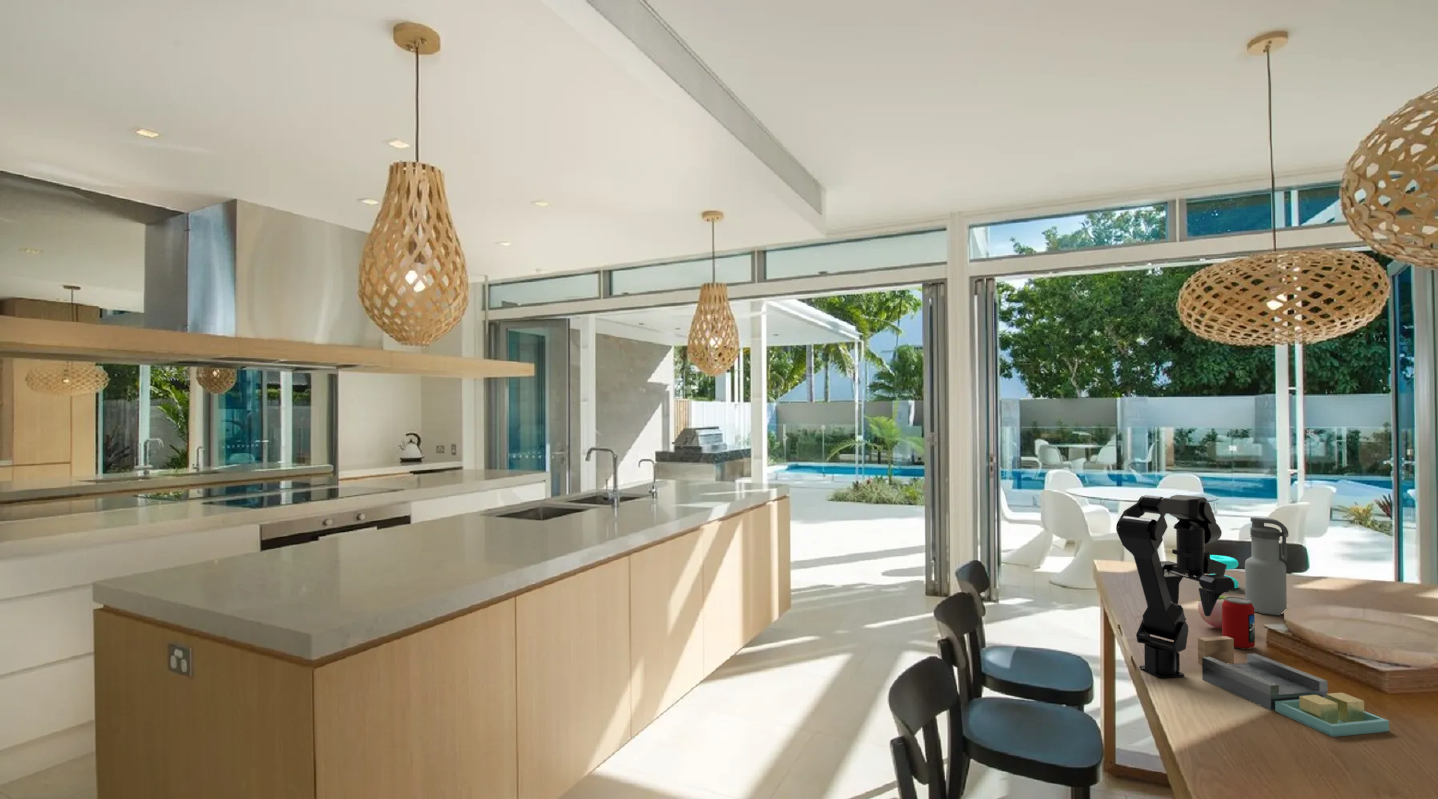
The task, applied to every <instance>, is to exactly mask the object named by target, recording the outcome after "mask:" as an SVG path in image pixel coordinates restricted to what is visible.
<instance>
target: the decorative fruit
mask: <svg viewBox="0 0 1438 799" xmlns="http://www.w3.org/2000/svg"><path fill="white" fill-rule="evenodd" d="M1225 597H1228V596H1226V595H1220V596H1219V598H1218V600H1217V602H1216V604H1215V606H1214V608H1213V610H1212V613H1211V615H1210V616H1205V614H1204V611H1203V607H1202V602H1201V598H1199V599H1198V604H1197V609H1198V612H1199V613H1198V614H1199V616H1200V617H1201V619H1202V620H1203V621H1204V622H1205V623H1206V624H1208V625H1210V626H1211V627H1214V628H1215V629H1218V630H1219V629H1222V603H1223V601H1224V600H1225Z"/></svg>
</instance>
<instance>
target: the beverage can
mask: <svg viewBox="0 0 1438 799" xmlns="http://www.w3.org/2000/svg"><path fill="white" fill-rule="evenodd" d="M1255 614H1256V612H1254V607H1253V605H1252V603H1251V601H1250V600H1248V599H1245V597H1244V598H1243V597H1237V596H1227V597H1225V600H1224V601H1223V603H1222V628H1221V635H1222V636H1227V637H1230V638H1233V639H1234V649H1238V648H1244V649H1243V650H1250V649H1251V648H1254V647H1255V644H1256V637H1255V636H1256V632H1255V631H1256V628H1255V626H1256V618H1255V616H1256V615H1255ZM1249 648H1250V649H1249Z"/></svg>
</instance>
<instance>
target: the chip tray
mask: <svg viewBox="0 0 1438 799" xmlns="http://www.w3.org/2000/svg"><path fill="white" fill-rule="evenodd" d="M1323 698H1326V697H1323ZM1274 712H1277V713H1279V714H1280V715H1283V716H1286V717H1288V718H1289V719H1292V720H1295V721H1296V722H1299V723H1301V724H1303V725H1305V726H1307V727H1309V728H1312V729H1314V730H1316V731H1318V732H1319V733H1320V732H1321V733H1323V734H1325V735H1328V736H1329V737H1332V738H1334V737H1336V738H1337V737H1343V736H1344V737H1345V736H1346V737H1347V736H1355V735H1356V736H1357V735H1363V734H1364V735H1366V734H1375V733H1386V732H1390V720H1388V719H1385V718H1383V717H1380V716H1378V715H1376V714H1373V713H1370V712H1368V711H1365V710H1364V721H1357V722H1347V723H1346V722H1344V721H1341V720H1339V719H1338V723H1336V724H1330V723H1328V722H1326V721H1323V720H1321V719H1319V718H1317V717H1314V716H1312V715H1310V714H1307V713H1305V712H1303V711H1300V708H1299V699H1295V700H1284V701H1275V710H1274Z"/></svg>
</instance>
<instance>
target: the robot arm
mask: <svg viewBox="0 0 1438 799" xmlns="http://www.w3.org/2000/svg"><path fill="white" fill-rule="evenodd" d="M1145 513H1146V514H1153V515H1154V514H1156V515H1159V517H1158V518H1157V520H1156V519H1153V518H1145V517H1142V516H1144V514H1145ZM1166 514H1168V515H1170V516H1171V517H1174V518H1176V519H1177V521H1178V522H1176V523H1175V524H1173V529H1174V530H1175V532H1176V536H1175V537H1176V538H1175V539H1176V544H1175V545H1176V549H1175V548H1172V551H1171V552H1172V554H1174V555H1176V562H1175V561H1170V560H1165V561H1164V560H1163V561H1161V560H1160V558H1161V557H1160V555H1159V551H1158V549H1160V546H1161V545H1162V543H1163V540H1164V538H1163V537H1164V535H1165V533H1166V531H1167V529H1168V523H1167V521H1166V518H1165V516H1166ZM1115 529H1116V534H1117V536H1118V538H1119V541H1120V542H1121V545H1122V546H1123V547H1124V548H1125V549H1126V550H1127V551H1128V552H1129V553H1130V554H1131V555H1132V556H1133V559H1134V563H1135V566H1136V570H1137V573H1138V576H1139V580H1140V585H1141V587H1142V592H1143V594H1144V599H1145V602H1146V606H1147V607H1146V609H1145V610H1144V612H1143V614H1142V620H1141V622H1140V625H1139V628H1138V629H1137V632H1136V635H1135V637H1136V642H1137V643H1138V644H1143V646H1144V648H1143V649H1144V664H1143V665H1139V666H1138V667H1139V668H1140V669H1141V668H1143V669H1144V670H1143V669H1142V670H1143V671H1145V672H1147V673H1149V674H1151V675H1153V676H1155V677H1157V678H1160V679H1166V678H1179V677H1185V673H1183V672H1181V670H1180V668H1181V667H1180V665H1181V664H1180V658H1181V657H1180V655H1181V654H1180V652H1182V651H1185V650H1186V649H1187V643H1188V637H1189V636H1188V635H1189V625H1188V622H1187V617H1186V616H1185V611H1184V608H1183V606H1182V605H1181V604H1179V601H1180V600H1179V598H1180V596H1179V595H1180V584H1181V581H1182V580H1183V579H1184V578H1186V579H1189V580H1193V581H1196V582H1198V584H1199V585H1200V587H1199V588H1198V593H1199V597H1200V598H1201V602H1202V607H1203V611H1204V614H1205V616H1210V615H1211V613H1212V610H1213V608H1214V606H1215V604H1216V602H1217V600H1218V598H1219V596H1223V594H1224V593H1225V594H1226V593H1230V591H1235V589H1234V581H1233V580H1232V579H1231V578H1230V577H1231V576H1230V577H1226V576H1227V575H1226V574H1225V572H1226V571H1227V570H1226V567H1227V565H1226V564H1223V563H1221V562H1218V561H1215V560H1212V559H1210V555H1211V554H1210V552H1208V551H1205V550H1206V547H1205V545H1206V544H1211V543H1216V542H1217V541H1219V540H1220V539H1221V538H1222V535H1223V534H1222V529H1221V526H1220V525H1219V524H1218V523H1217V520H1216V517H1215V514H1214V511H1213V508H1212V505H1211V503H1209V502H1208V499H1207V498H1206V497H1204V496H1194V495H1193V496H1192V495H1185V494H1184V495H1182V494H1174V495H1170V498H1169V497H1163V496H1158V495H1157V496H1156V495H1147V494H1146V495H1141V496H1140V497H1139V499H1138V500H1137V502H1136V503H1134V504H1133V505H1131V506H1130V507H1129V506H1128V508H1126V509H1125V510H1124V511H1123V512H1122V514H1121V516H1120V517H1119V518H1118V521H1117V523H1116V527H1115ZM1209 574H1214V575H1209ZM1224 575H1226V576H1224ZM1200 598H1199V599H1200Z"/></svg>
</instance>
